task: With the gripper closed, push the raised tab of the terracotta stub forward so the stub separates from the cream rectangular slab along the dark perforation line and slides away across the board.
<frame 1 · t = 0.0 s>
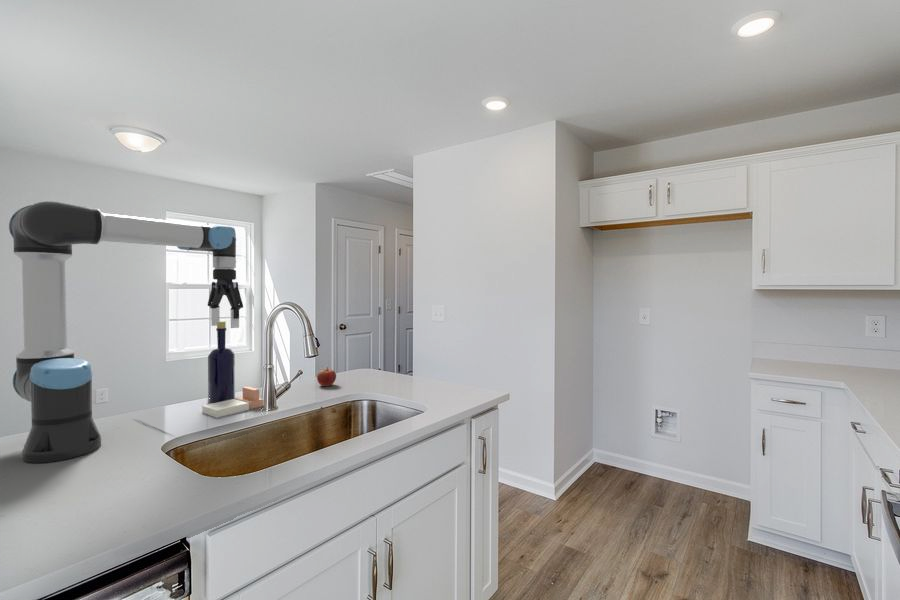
hand: (224, 326, 159), 28 cm above the counter, fingers open, 13 cm apart
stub: (249, 397, 152), point 4 cm above the counter, slide at 0.0 cm
cream rectangular slab: (226, 411, 145), resting on board
bottle: (221, 403, 159), on the counter
apple: (326, 386, 188), on the counter
board: (239, 411, 149), on the counter
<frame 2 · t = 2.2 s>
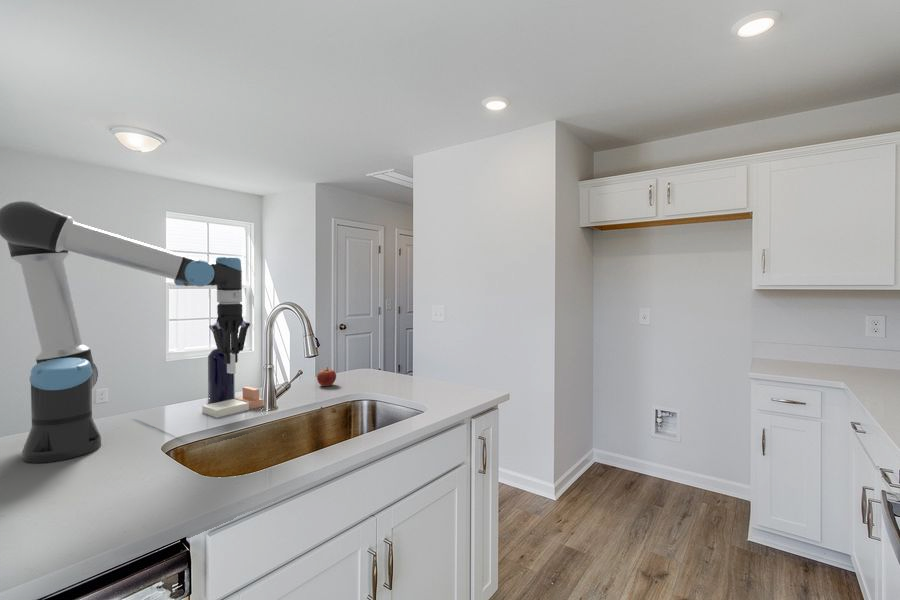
hand: (231, 372, 146), 14 cm above the counter, fingers closed
nothing on the counter moved.
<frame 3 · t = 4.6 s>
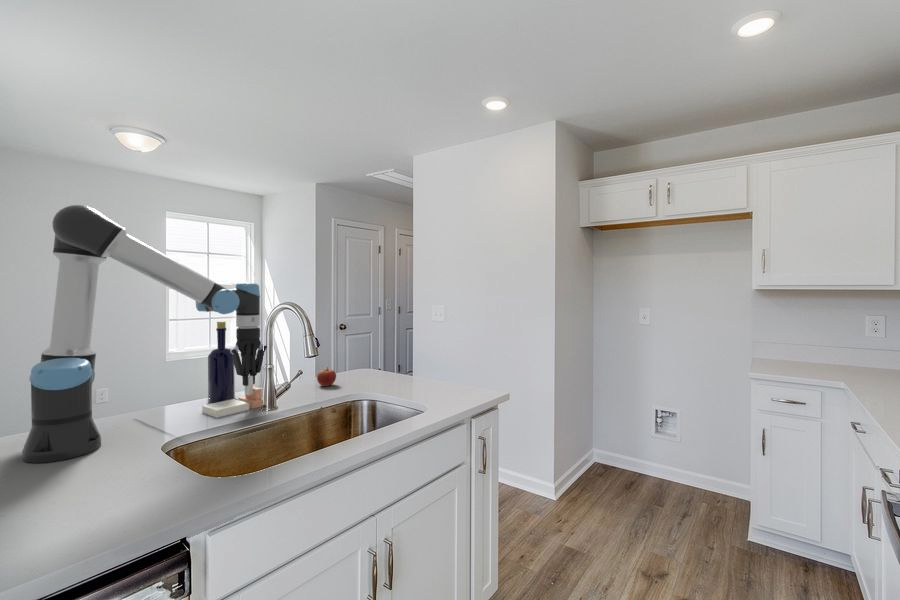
hand: (248, 394, 151), 5 cm above the counter, fingers closed
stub: (252, 396, 153), point 4 cm above the counter, slide at 1.0 cm, touching gripper
everything else where it was.
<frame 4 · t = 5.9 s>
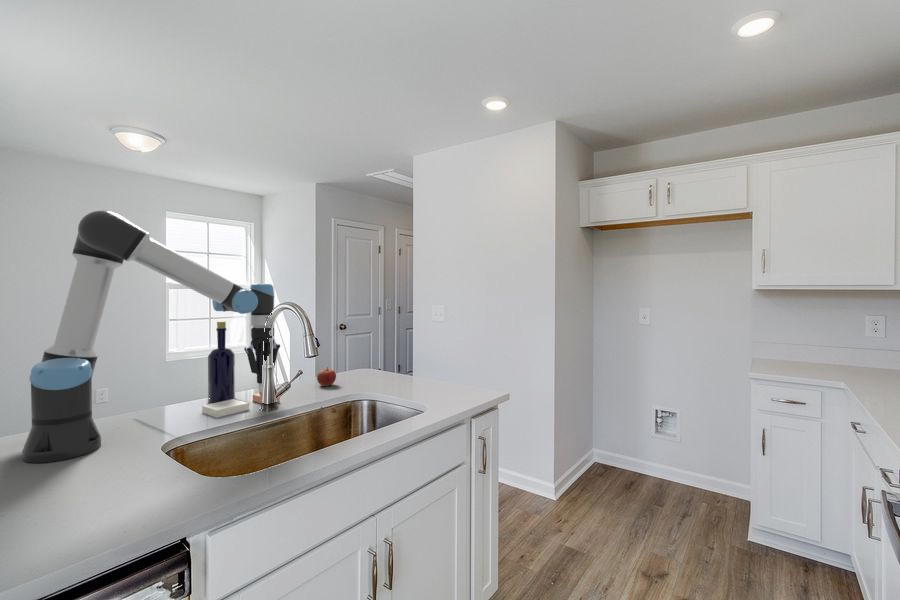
hand: (263, 391, 156), 5 cm above the counter, fingers closed
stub: (266, 393, 157), point 4 cm above the counter, slide at 6.4 cm, touching gripper
everything else where it was.
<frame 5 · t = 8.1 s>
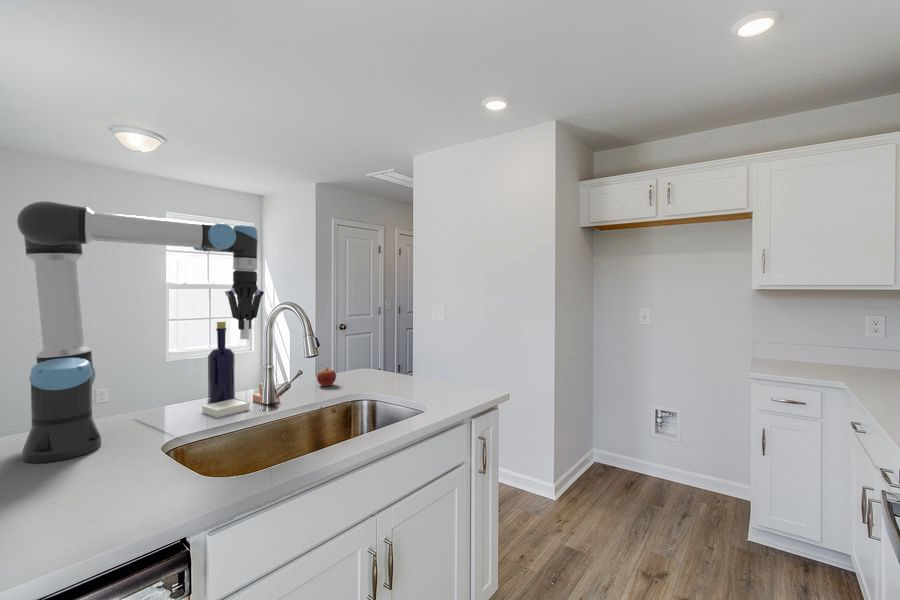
hand: (244, 338, 150), 25 cm above the counter, fingers closed
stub: (266, 393, 157), point 4 cm above the counter, slide at 6.4 cm
everything else where it was.
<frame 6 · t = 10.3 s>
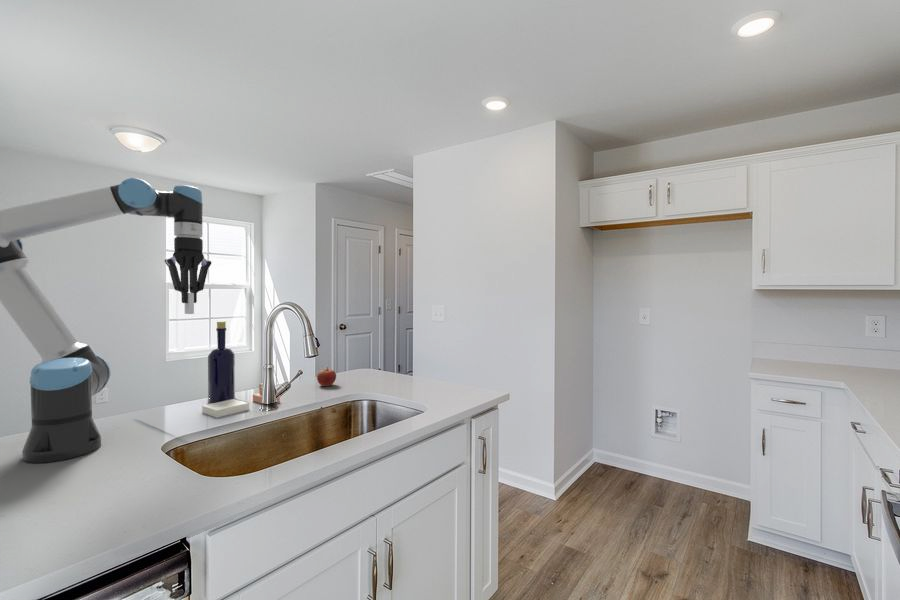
hand: (189, 313, 134), 34 cm above the counter, fingers closed
nothing on the counter moved.
at the end: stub slide at 6.4 cm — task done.
